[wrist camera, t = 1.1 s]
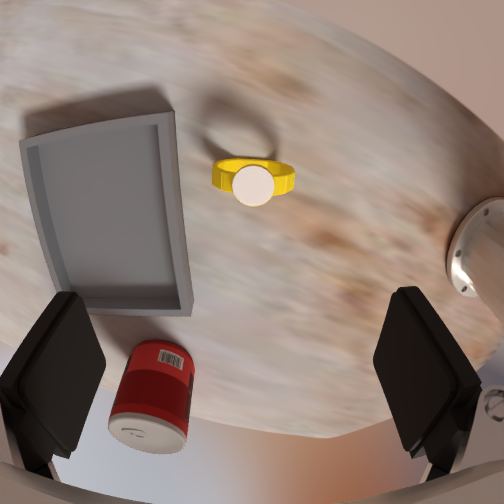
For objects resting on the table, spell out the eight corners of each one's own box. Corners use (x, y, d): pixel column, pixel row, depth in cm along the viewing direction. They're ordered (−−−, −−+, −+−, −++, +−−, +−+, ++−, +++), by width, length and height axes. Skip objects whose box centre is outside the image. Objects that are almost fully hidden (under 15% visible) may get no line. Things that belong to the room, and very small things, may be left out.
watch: (217, 180, 26) (204, 204, 21) (218, 148, 25) (204, 163, 20) (289, 185, 26) (295, 210, 21) (292, 153, 25) (299, 169, 20)
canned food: (121, 340, 34) (93, 415, 24) (184, 334, 33) (169, 418, 24) (145, 382, 37) (128, 453, 28) (203, 378, 37) (196, 455, 27)
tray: (174, 111, 23) (167, 112, 21) (194, 300, 31) (190, 316, 29) (34, 136, 23) (18, 141, 20) (73, 299, 31) (64, 312, 29)
